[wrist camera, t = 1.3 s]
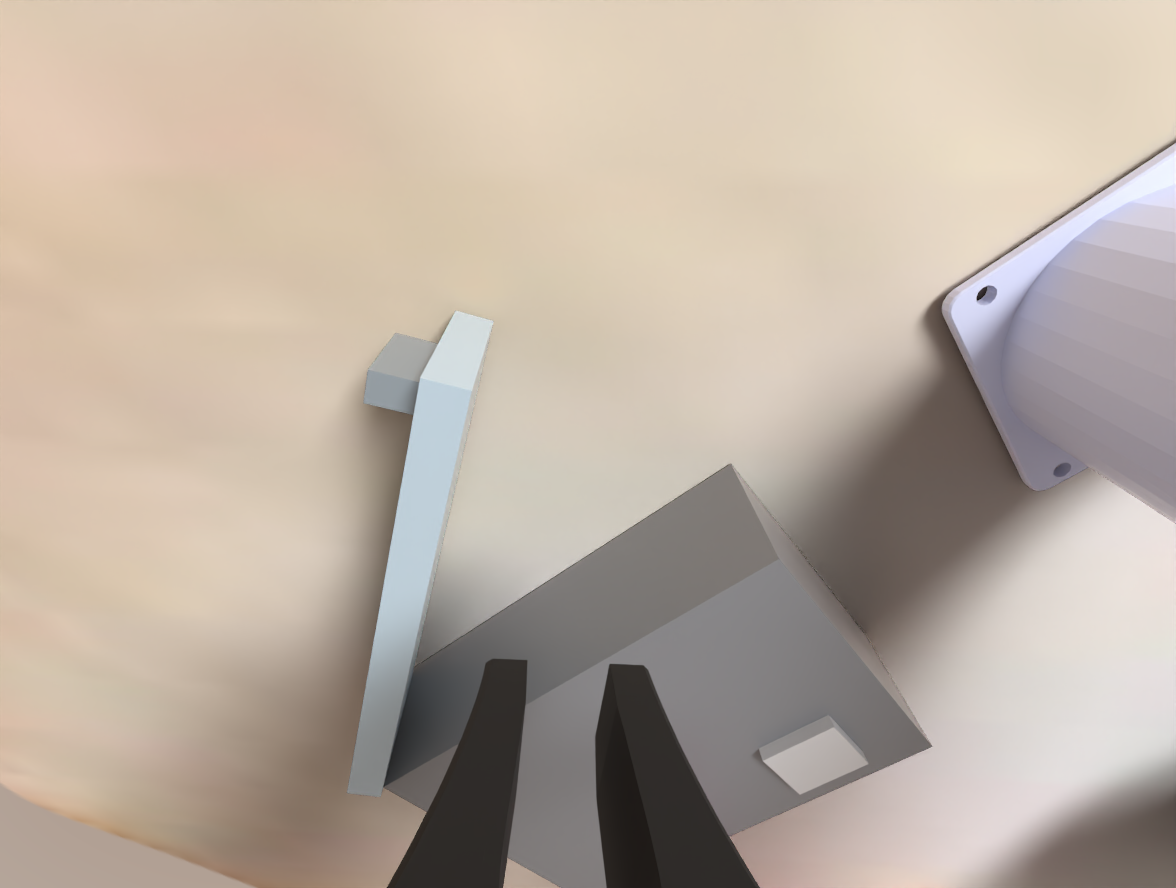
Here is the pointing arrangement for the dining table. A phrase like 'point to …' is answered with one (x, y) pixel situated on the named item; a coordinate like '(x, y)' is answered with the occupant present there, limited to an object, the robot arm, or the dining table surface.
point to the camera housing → (670, 678)
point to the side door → (415, 516)
